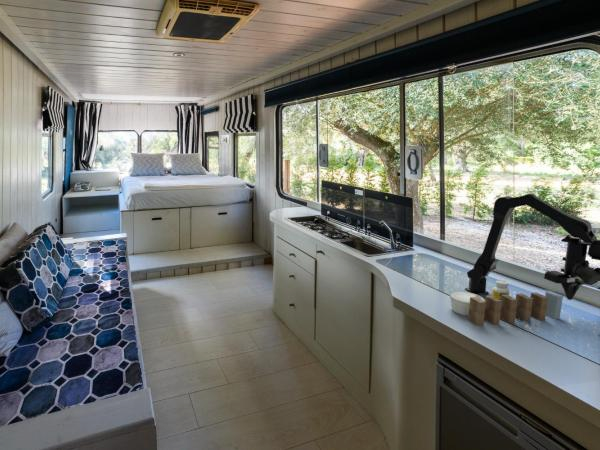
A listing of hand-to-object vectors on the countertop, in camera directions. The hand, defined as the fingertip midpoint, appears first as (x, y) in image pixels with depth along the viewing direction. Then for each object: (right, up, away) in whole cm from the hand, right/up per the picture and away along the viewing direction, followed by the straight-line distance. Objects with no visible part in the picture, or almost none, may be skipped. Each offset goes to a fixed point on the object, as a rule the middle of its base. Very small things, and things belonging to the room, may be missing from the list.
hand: (569, 299), depth 144 cm
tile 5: (-36, -6, -7) cm, 37 cm away
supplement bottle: (-22, -4, +6) cm, 23 cm away
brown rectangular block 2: (-13, -6, -2) cm, 14 cm away
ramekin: (-35, -5, +2) cm, 36 cm away
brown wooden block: (-24, -6, -5) cm, 26 cm away
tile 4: (-30, -6, -6) cm, 31 cm away
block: (-7, -6, -1) cm, 9 cm away
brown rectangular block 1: (-18, -6, -3) cm, 20 cm away
